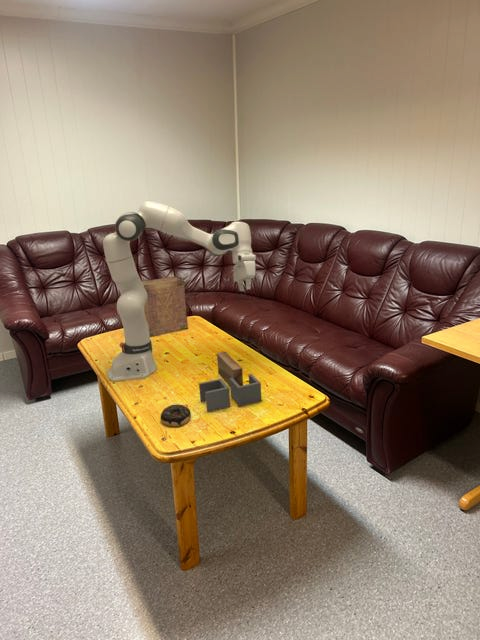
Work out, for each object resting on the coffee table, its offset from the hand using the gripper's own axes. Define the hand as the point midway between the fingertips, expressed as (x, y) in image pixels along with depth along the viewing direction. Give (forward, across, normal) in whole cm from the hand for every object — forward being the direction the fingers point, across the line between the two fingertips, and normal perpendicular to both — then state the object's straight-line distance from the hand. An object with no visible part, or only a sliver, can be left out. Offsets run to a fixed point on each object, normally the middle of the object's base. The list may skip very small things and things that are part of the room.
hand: (245, 290), depth 200 cm
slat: (+39, +1, -10) cm, 40 cm away
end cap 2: (+44, +17, -9) cm, 48 cm away
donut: (+48, +21, -38) cm, 65 cm away
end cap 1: (+45, +17, -22) cm, 53 cm away
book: (+17, -73, -26) cm, 79 cm away
